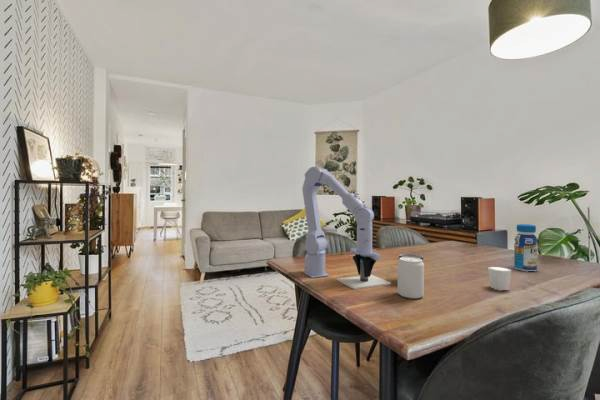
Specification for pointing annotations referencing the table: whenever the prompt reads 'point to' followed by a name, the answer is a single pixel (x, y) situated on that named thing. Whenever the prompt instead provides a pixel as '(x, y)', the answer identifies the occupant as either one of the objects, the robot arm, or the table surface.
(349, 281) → the paper pad
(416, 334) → the table surface
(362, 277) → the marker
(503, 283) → the white cylinder
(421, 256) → the coffee mug
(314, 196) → the robot arm
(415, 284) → the beverage can
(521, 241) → the blue supplement bottle
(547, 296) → the table surface
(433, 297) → the table surface
